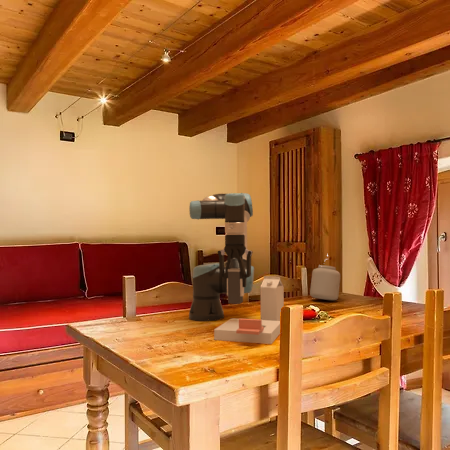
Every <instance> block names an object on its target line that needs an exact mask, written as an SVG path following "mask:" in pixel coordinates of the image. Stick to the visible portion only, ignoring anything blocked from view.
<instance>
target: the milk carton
mask: <svg viewBox="0 0 450 450" xmlns="http://www.w3.org/2000/svg"><path fill="white" fill-rule="evenodd" d="M259 290H260V320H270V321H280V312H281V308H282V307H283V306H284V307H285V305H284V304H285V303H284V302H285V301H284V300H285V299H284V297H285V293H284V290H285V289H284V283H283V282H282V280H281V276H271V275H270V276H268V275H263V280H262V283H261V285H260V289H259Z"/></svg>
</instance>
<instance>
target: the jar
mask: <svg viewBox="0 0 450 450" xmlns="http://www.w3.org/2000/svg"><path fill="white" fill-rule="evenodd" d="M326 256H327V257H329V255H328V254H327V255H326ZM326 260H328V258H325V261H326ZM336 268H337V267H335V266H331V265H322V264H321V265H320V264H319V265H318V267H317V268H314V269H313V270H312V271H311V280H310V281H311V283H310V290H309V291H310V292H309V295H310V296H311V297H312V298H314V299H318V300H324V301H325V300H326V301H336V300H338V299H339V293H340V286H341V285H340V283H341V273H340V272H339V271H338V270H336Z"/></svg>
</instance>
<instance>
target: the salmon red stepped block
mask: <svg viewBox="0 0 450 450" xmlns="http://www.w3.org/2000/svg"><path fill="white" fill-rule="evenodd" d="M238 319H239V329H237V330H236V333H240V334H255V335H259V334H260V333H261V332H262V331H263V330H264V327H262V320H261V318H260V319H258V318H257V319H256V318H255V319H254V318H241V317H240V318H238Z"/></svg>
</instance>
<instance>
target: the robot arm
mask: <svg viewBox="0 0 450 450" xmlns="http://www.w3.org/2000/svg"><path fill="white" fill-rule="evenodd" d="M253 208H254V207H253V202H252V197H251V194H249V193H245V192H241V193H240V192H239V193H238V192H237V193H235V192H234V193H233V192H231V193H215V194H211V195H207V196H206V197H205V196H204V198H203V199H202V200H190V202H189V211H188V212H189V217H190V219H192V220H224V233H225V235H224V248H223V249H220V250H218V251H217V254H218V261H219V262H218V263H216V262H215V263H207V264H206V263H205V264H201V265H197V266H196V265H195V266H194V267H193V269H192V277H191V278H192V301H191V305H190V308H189V311H188V319H189V320H192V321H199V322H200V321H201V322H212V321H219V320H222V319H224V318H225V313H224V309H223V305H222V303H221V300H220V297H221V296H220V295H221V294H226V296H227V297H228V269H230V268H240V271H241V276H242V278H241V279H240V296H243V297H244V296H245V294H249V293H251V292H252V290H253V286H254V277H255V267H254V266H253V265H252V255H253V253H254V251H253V250H249V249H248V222H249V221H250V219H251V218H252V217H253V216H254V211H253ZM225 254H226V255H227V259H226V261H225Z"/></svg>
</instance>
